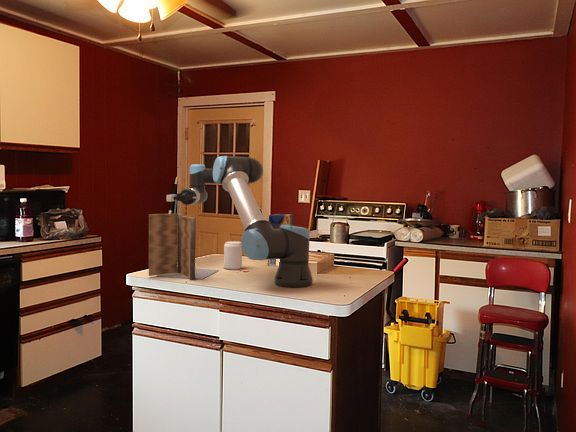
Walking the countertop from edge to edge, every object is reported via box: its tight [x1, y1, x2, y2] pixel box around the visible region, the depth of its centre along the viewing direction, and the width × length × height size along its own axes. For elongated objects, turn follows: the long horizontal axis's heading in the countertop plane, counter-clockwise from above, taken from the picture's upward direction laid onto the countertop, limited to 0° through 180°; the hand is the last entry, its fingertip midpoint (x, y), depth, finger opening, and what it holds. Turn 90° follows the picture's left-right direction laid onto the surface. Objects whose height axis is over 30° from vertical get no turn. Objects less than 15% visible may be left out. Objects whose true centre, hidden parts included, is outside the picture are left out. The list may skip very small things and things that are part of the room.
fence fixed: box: [177, 212, 197, 281], centre depth 215 cm, size 16×2×26 cm, turn 33°
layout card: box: [155, 268, 219, 280], centre depth 223 cm, size 20×20×1 cm
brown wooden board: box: [148, 213, 178, 277], centre depth 215 cm, size 12×1×25 cm, turn 131°
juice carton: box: [267, 213, 294, 267], centre depth 250 cm, size 12×8×24 cm, turn 158°
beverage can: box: [223, 241, 243, 271], centre depth 237 cm, size 8×8×12 cm
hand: (168, 198), depth 226 cm, fingers closed
